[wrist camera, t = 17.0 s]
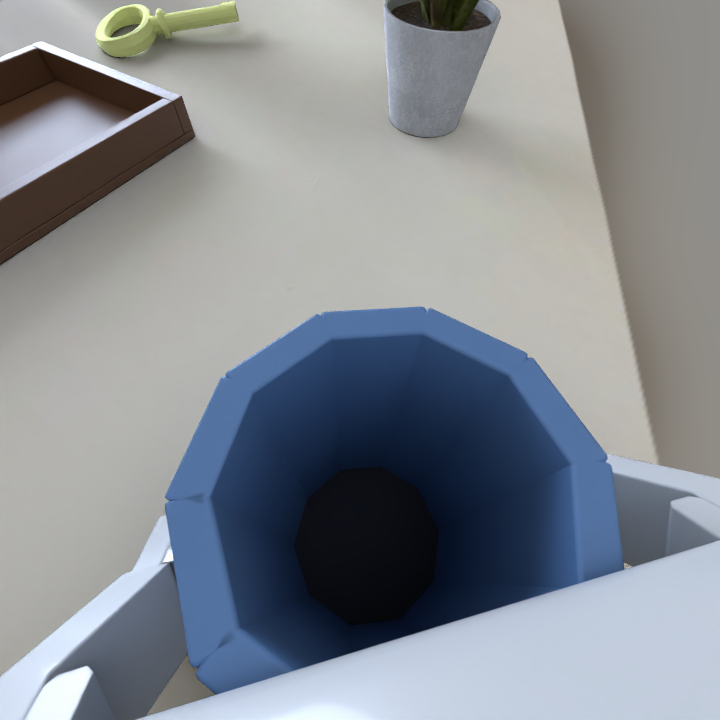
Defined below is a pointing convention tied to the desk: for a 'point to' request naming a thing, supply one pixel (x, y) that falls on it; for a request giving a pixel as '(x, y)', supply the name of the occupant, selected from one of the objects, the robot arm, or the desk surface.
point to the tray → (73, 137)
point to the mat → (367, 545)
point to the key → (156, 25)
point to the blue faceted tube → (396, 454)
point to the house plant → (434, 60)
